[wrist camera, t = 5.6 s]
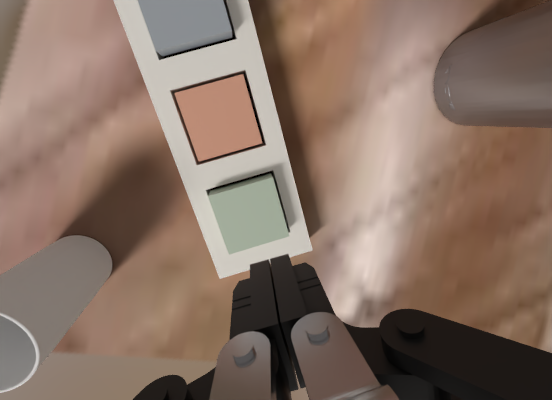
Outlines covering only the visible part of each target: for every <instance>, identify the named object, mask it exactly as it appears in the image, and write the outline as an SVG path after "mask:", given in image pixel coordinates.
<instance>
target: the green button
mask: <svg viewBox="0 0 552 400" xmlns="http://www.w3.org/2000/svg"><path fill="white" fill-rule="evenodd" d="M208 197H209V200H210V203H211V206H212V208H213V211H214V214H215V217H216V220H217V222H218V225H219V228H220V231H221V233H222V236H223V239H224V242H225V245H226V247H227V250H228V253H229V254H233V253H236V252H239V251H243V250H246V249H249V248H252V247H256V246H259V245H262V244H266V243H269V242H272V241H275V240H279V239H282V238H285V237H289V233H288V229H287V226H286V222H285V218H284V215H283V211H282V208H281V204H280V201H279V197H278V193H277V190H276V186H275V183H274V179H273V176H272V175H271V173H269V174H266V175H263V176H259V177H256V178H252V179H249V180H246V181H242V182H239V183H235V184H232V185H229V186H225V187H222V188H218V189H215V190H212V191H210V193H209V195H208Z"/></svg>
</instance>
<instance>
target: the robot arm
mask: <svg viewBox="0 0 552 400" xmlns="http://www.w3.org/2000/svg"><path fill="white" fill-rule="evenodd" d="M434 95H435V100H436V103H437V105H438V108H439V110H440V111H441V112H442V114H443V115H444V116H445V117H446V118H448V119H449V120H450V121H452V122H454V123H456V124H460V125H466V126H497V127H536V128H552V0H551V1H548V2H545V3H543V4H540V5H538V6H535V7H532V8H530V9H527V10H524V11H522V12H519V13H517V14H514V15H511V16H509V17H506V18H503V19H500V20H498V21H495V22H492V23H490V24H487V25H485V26H482V27H479V28H477V29H474V30H472V31H469V32H467V33H465V34H463V35H461V36H460V37H458V38H457V39H456V40H455V41H454V42H452V43H451V45H450V46H449V47H448V48H447V49H446V50H445V52H444V54H443V55H442V57H441V59H440V60H439V63H438V66H437V68H436V72H435V77H434ZM270 262H271V265H270ZM270 262H269V259H268V260H264V261H260V262H257V263H253V264H250V278H249V279H245V280H242V281H239V282H238V284H237V286H236V287H235V289H234V291H233V300H232V301H233V303H232V314H231V327H230V340H229V341H228V342H227V343H226V344H225V345H224V346H223V348H222V349H221V351H220V353H219V355H218V359H217V365H216V367H215V368H214V369H212V370H211V371H210V372H208V373H207V374H205V375H203V376H202V377H200V378H198V379H196V380H195V381H193V382H191V383H190V384H188V385H187V384H186V382H185V380H184V379H183V378H182V377H180V376H178V375H168V376H164V377H161V378H159V379H157V380H155V381H153V382H152V383H150V384H149V385H147V386H146V387H145V388H144V389H143V390H142V391H141V392H140V393H139V394H138V395H137V396H136V397H135V398H134V399H133V400H292V399H291V393H290V392H291V391H294V390H298V385H297V379H296V375H297V378H298V381H299V384H300V387H301V388H304V387H306V390H307V394H308V397H309V400H552V353H549V352H546V351H543V350H540V349H537V348H534V347H531V346H528V345H525V344H522V343H519V342H515V341H512V340H509V339H506V338H503V337H500V336H497V335H494V334H491V333H488V332H485V331H482V330H478V329H475V328H472V327H469V326H466V325H463V324H460V323H457V322H454V321H451V320H448V319H445V318H441V317H438V316H435V315H432V314H429V313H426V312H423V311H419V310H414V309H400V310H396V311H393V312H390V313H388V314H387V315H386V316H385V317H384V318H383V319H382V320H381V322H380V326H379V327H378V328H360V327H354V326H350V325H348V324H345V323H344V322H342V321H341V319H339V318H338V317H337V316H336V315H335V313H334V311H333V309H332V307H331V304H330V302H329V300H328V298H327V296H326V293H325V291H324V289H323V287H322V285H321V282H320V280H319V278H318V276H317V274H316V271H315V269H314V268H313V267H312V266H310V265H308V264H307V263H302V264H298V265H295V266H292V264H291V261H290V258H289V254H285V255H282V256H278V257H274V258H271V259H270ZM294 368H295V369H294ZM295 371H296V374H295Z"/></svg>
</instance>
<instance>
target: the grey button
mask: <svg viewBox="0 0 552 400" xmlns="http://www.w3.org/2000/svg"><path fill="white" fill-rule="evenodd" d="M138 3H139V5H140V8H141V11H142V14H143V16H144V19H145V22H146V25H147V28H148V30H149V33H150V36H151V39H152V42H153V44H154V47H155V50H156V51H157V52H158V53H159V54H160V55H161V56H166V55H170V54H174V53H177V52H181V51H185V50H189V49H192V48H196V47H200V46H203V45H207V44H211V43H214V42H218V41H222V40H225V39H229V38H232V29H231V26H230V22H229V19H228V15H227V12H226V8H225V5H224V1H223V0H138Z"/></svg>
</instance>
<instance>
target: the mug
mask: <svg viewBox="0 0 552 400" xmlns="http://www.w3.org/2000/svg"><path fill="white" fill-rule="evenodd" d="M111 271H112V259H111V256H110V254H109V252H108V251H107V249H106V248H105V247H104V246H103V245H102V244H101V243H99V242H98V241H96V240H94V239H92V238H90V237H86V236H81V235H72V236H67V237H63V238H61V239H59V240H57V241H56V242H54V243H52V244H51V245H49V246H47V247H45V248H44V249H42V250H40V251H39V252H37V253H35V254H34V255H32V256H31V257H29V258H27V259H26V260H24V261H23V262H21V263H19V264H18V265H16V266H15V267H13V268H11V269H10V270H8V271H6V272H5V273H3V274H2V275H0V393H2V392H6V391H9V390H12V389H15V388H17V387H19V386H21V385H22V384H24V383H25V382H27V381H28V380H29V379H30V378H31V377H32V376H33V374H34V373H35V372H36V370H37V369H38V368H39V366H40V365H41V364H42V363H43V362H44V360H45V359H46V358H47V357H48V356H49V354H50V353H51V352H52V351H53V349H54V348H55V347H56V345H57V344H58V343H59V342H60V340H61V339H62V338H63V336H64V335H65V334H66V332H67V331H68V330H69V329H70V327H71V326H72V325H73V323H74V322H75V321H76V319H77V318H78V317H79V316H80V314H81V313H82V312H83V310H84V309H85V308H86V307H87V305H88V304H89V303H90V301H91V300H92V299H93V298H94V296H95V295H96V294H97V292H98V291H99V290H100V288H101V287H102V286H103V284H104V283H105V282H106V280H107V279H108V278H109V276H110V274H111Z"/></svg>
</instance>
